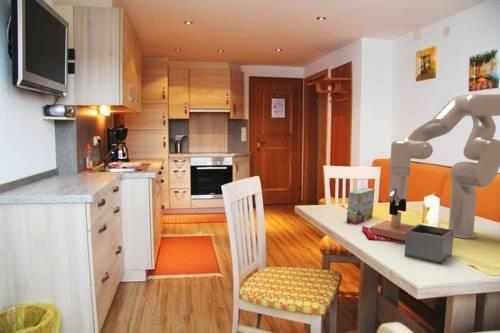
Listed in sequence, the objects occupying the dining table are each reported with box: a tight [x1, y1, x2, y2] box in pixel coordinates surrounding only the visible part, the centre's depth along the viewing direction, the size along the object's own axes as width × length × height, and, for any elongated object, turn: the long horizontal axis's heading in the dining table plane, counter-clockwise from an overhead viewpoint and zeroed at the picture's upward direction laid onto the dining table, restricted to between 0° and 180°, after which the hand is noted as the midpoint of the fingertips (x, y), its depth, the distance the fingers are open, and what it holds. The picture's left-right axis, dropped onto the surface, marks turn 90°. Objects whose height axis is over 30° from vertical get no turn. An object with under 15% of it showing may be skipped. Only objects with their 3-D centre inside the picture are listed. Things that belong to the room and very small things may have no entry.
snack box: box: [346, 187, 375, 226], centre depth 188 cm, size 21×6×15 cm, turn 143°
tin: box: [403, 223, 454, 265], centre depth 136 cm, size 14×12×9 cm
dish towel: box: [361, 225, 405, 244], centre depth 160 cm, size 17×24×3 cm
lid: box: [370, 211, 415, 241], centre depth 158 cm, size 16×14×9 cm
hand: (397, 212), depth 158 cm, fingers open, 9 cm apart
